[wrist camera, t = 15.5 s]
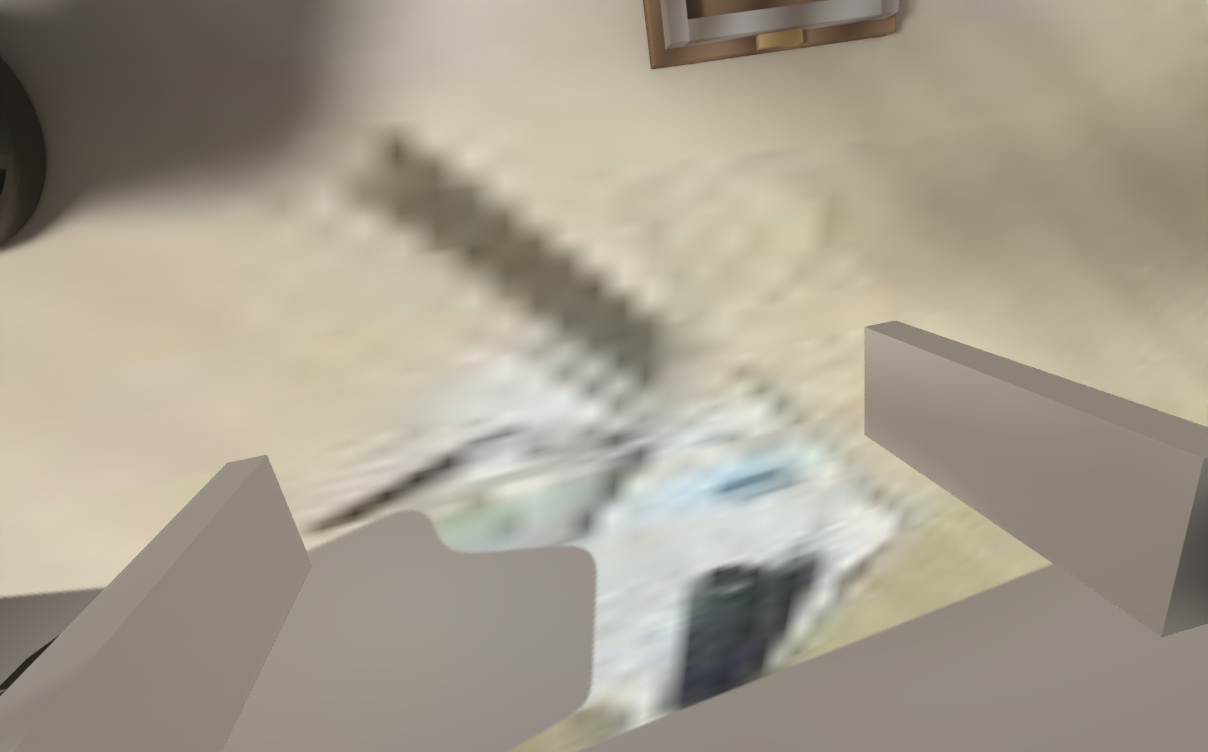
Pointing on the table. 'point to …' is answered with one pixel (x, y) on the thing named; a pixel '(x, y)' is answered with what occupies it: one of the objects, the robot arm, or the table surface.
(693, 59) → the cradle plate
